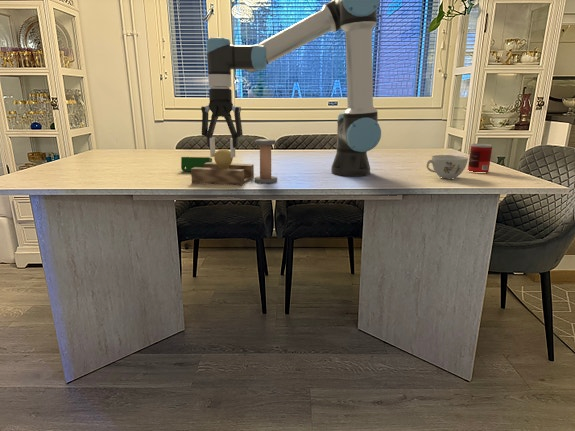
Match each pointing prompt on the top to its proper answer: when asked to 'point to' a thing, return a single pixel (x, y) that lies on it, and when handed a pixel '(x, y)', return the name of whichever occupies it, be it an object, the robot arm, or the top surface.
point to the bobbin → (265, 162)
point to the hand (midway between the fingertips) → (223, 156)
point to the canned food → (480, 157)
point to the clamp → (193, 162)
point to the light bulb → (223, 158)
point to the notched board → (223, 174)
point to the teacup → (448, 165)
